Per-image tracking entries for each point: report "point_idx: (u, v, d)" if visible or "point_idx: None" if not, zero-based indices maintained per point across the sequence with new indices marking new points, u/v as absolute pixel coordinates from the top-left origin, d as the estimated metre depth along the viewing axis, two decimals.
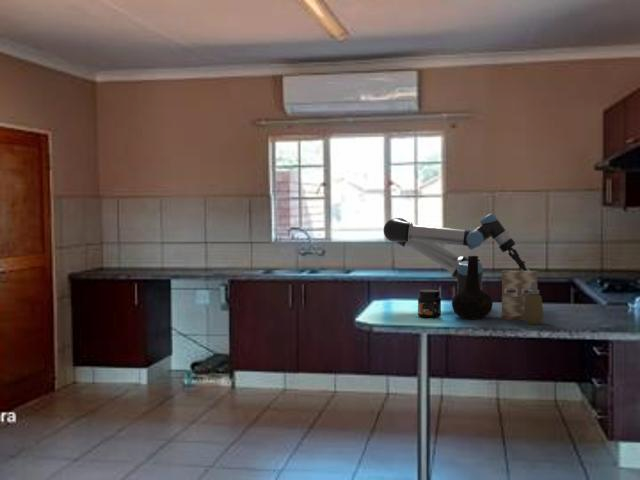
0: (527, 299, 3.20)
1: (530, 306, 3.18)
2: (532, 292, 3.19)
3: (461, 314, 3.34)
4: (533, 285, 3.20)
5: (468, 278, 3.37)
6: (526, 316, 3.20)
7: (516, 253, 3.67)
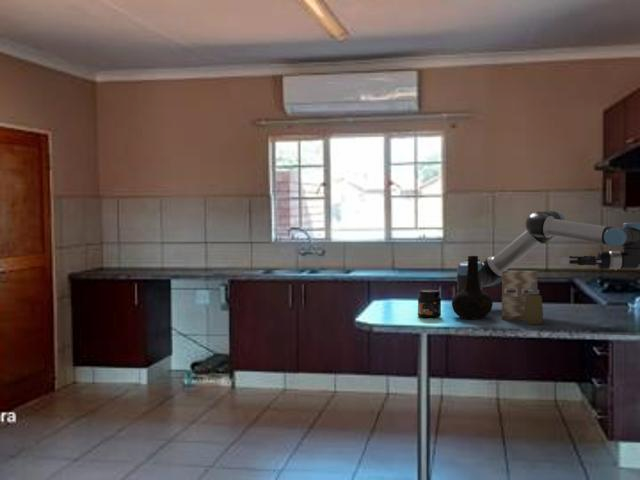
0: (527, 299, 3.20)
1: (530, 306, 3.18)
2: (532, 292, 3.19)
3: (461, 314, 3.34)
4: (533, 285, 3.20)
5: (468, 278, 3.37)
6: (526, 316, 3.20)
7: None
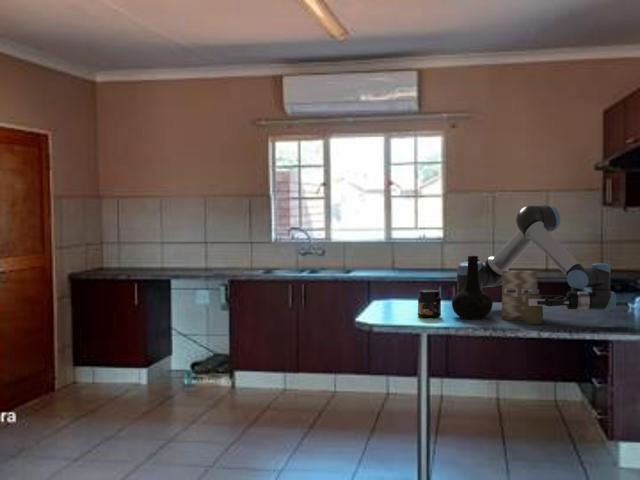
0: (527, 299, 3.20)
1: (530, 306, 3.18)
2: (532, 292, 3.19)
3: (461, 314, 3.34)
4: (533, 285, 3.20)
5: (468, 278, 3.37)
6: (526, 316, 3.20)
7: None
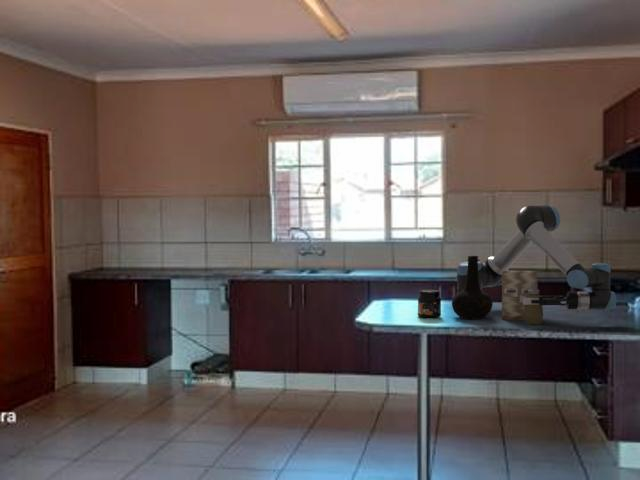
0: None
1: (530, 306, 3.18)
2: (532, 292, 3.19)
3: (461, 314, 3.34)
4: (533, 285, 3.20)
5: (468, 278, 3.37)
6: (526, 316, 3.20)
7: None
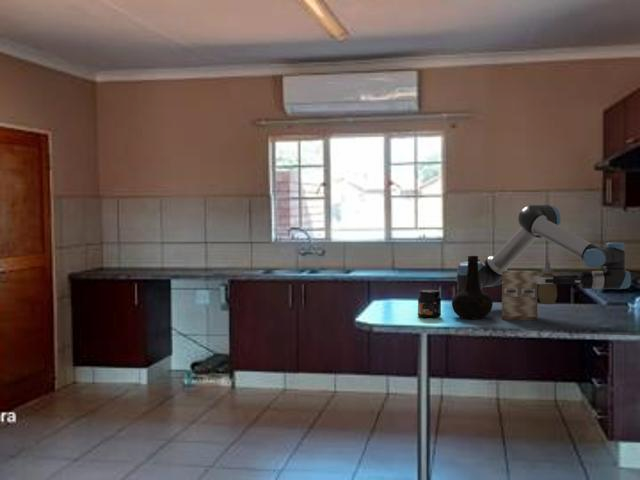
0: None
1: (544, 286, 3.17)
2: (546, 271, 3.18)
3: (461, 314, 3.34)
4: (547, 264, 3.19)
5: (468, 278, 3.37)
6: (540, 296, 3.19)
7: (572, 283, 3.17)
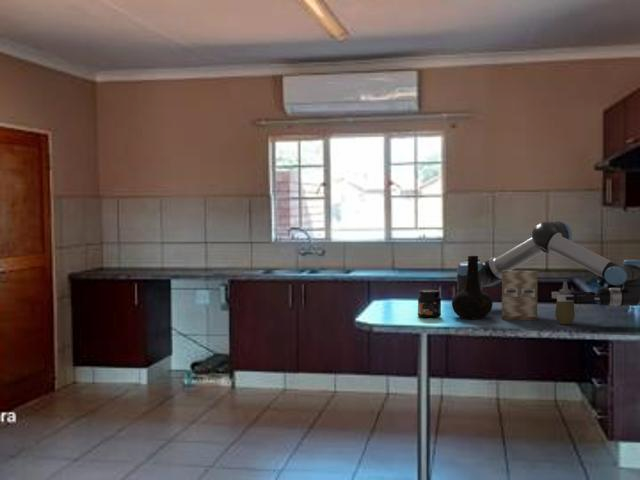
0: None
1: (562, 306, 3.18)
2: (564, 292, 3.19)
3: (461, 314, 3.34)
4: (565, 285, 3.20)
5: (468, 278, 3.37)
6: (558, 316, 3.20)
7: None
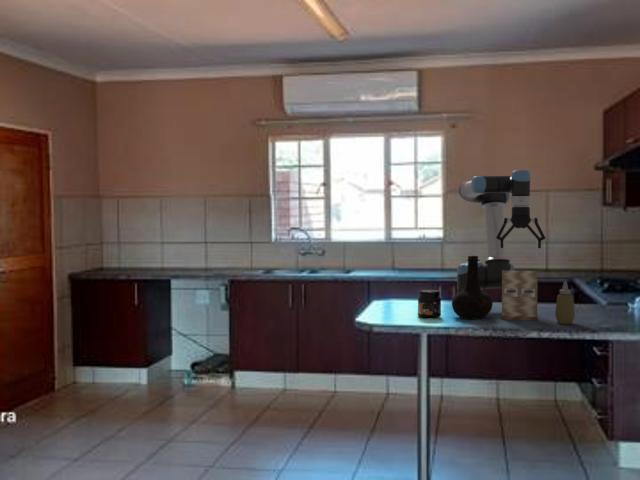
0: (559, 299, 3.20)
1: (562, 306, 3.18)
2: (564, 292, 3.19)
3: (461, 314, 3.34)
4: (565, 285, 3.20)
5: (468, 278, 3.37)
6: (558, 316, 3.20)
7: (513, 224, 3.22)
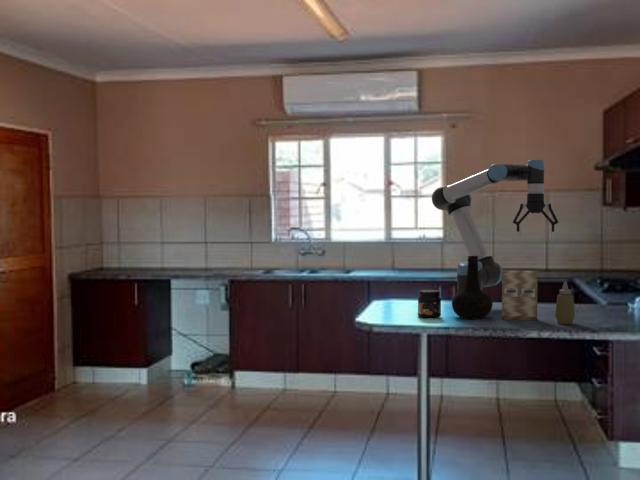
0: (559, 299, 3.20)
1: (562, 306, 3.18)
2: (564, 292, 3.19)
3: (461, 314, 3.34)
4: (565, 285, 3.20)
5: (468, 278, 3.37)
6: (558, 316, 3.20)
7: (528, 209, 3.49)
